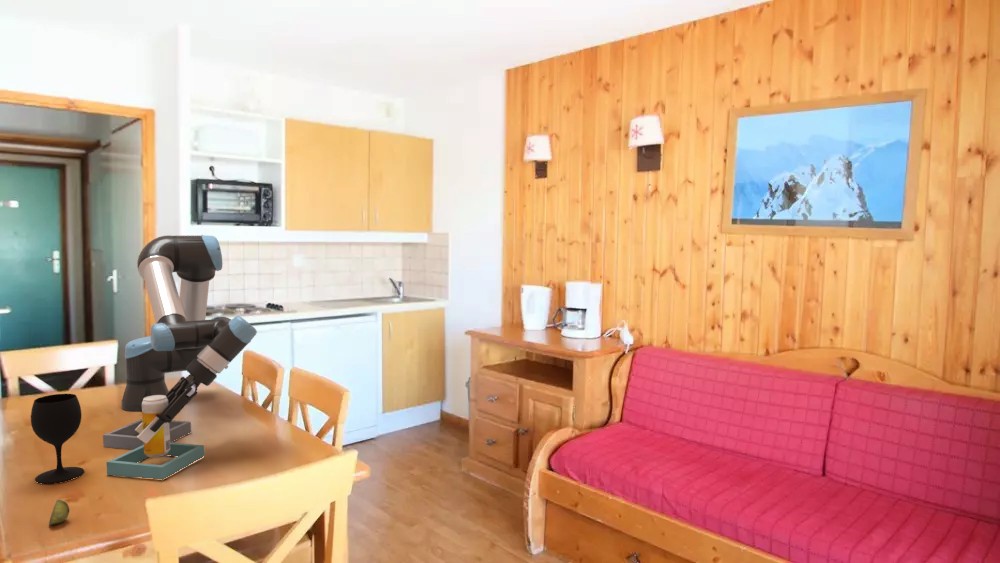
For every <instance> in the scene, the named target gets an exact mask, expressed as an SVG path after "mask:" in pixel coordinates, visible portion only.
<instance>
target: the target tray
mask: <svg viewBox="0 0 1000 563" xmlns="http://www.w3.org/2000/svg"><path fill="white" fill-rule="evenodd" d="M166 455H171V456H178V457H173V459H170V460H168V461H167V462H164V463H162V464H154V463H153V464H152V463H144V462H143V463H142V461H144V460H143V459H145V458H147V455H146V454H144V445H142V446H140V447H138V448H136V449H134V450H131V449H130V451H127V452H125V453H123V454H121V455H119V456H116V457H115V458H112V459H110V460H108V461H106V475H107V476H109V475H115V476H114V477H118V476H125V477H124V478H128V477H142V478H153V479H162V480H163V479H164V478H166V477H168V476H170V475H172V474H174V473H175V472H177V471H179V470H180V469H182V468H184V467H186V466H188V465H189V464H191V463H193V462H194V461H196V460H198V459H200V458H202V457H203V456H205V445H204V444H193V443H183V442H182V443H181V442H170V451H169V452H168V454H166ZM147 459H148V458H147ZM141 460H142V461H141ZM145 460H146V459H145ZM139 461H140V462H139ZM137 462H138V463H137Z"/></svg>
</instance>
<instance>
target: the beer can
mask: <svg viewBox="0 0 1000 563" xmlns="http://www.w3.org/2000/svg"><path fill="white" fill-rule="evenodd" d="M167 405H168V399H167V398H166V396H165V395H153V396H148V397H145V398H144V399H143V402H142V411H141V414H142V415H141V416H142V418H141V419H142V421H143V430H144V429H145V428H146V427H147V426H148V425H149V424H150V423H151V422H152V421H153V420H154V419H155V418H156V417H157V416H156V414H159V415H160V414H161V413H162V412H163V410H164V409H165V408H166V407H167ZM169 451H170V429H169V423H168V422H167V423H165V424H164V425H163V427H162V428H161V429H160V430H159V431H158V432H157V433H156V434H155V435H154V436H153V437H152V438H151V439H150V440H149V441H148V442H147V444H146V443H145V442H144V454H146V455H147V457H149V458H160V457H165V456H164V455H166V454H168V452H169Z"/></svg>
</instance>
